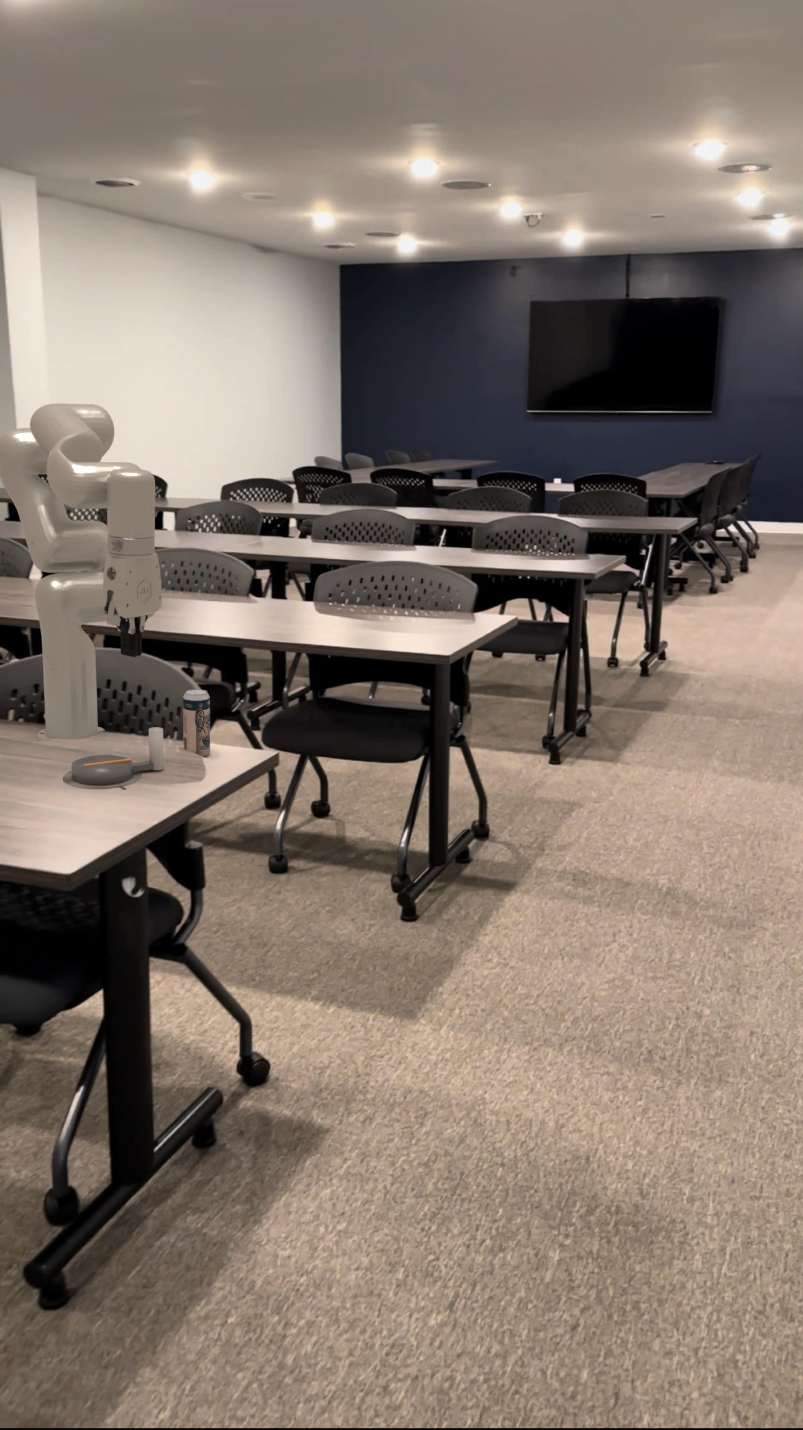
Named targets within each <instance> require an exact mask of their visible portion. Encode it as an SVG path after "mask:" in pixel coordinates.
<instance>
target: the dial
mask: <svg viewBox="0 0 803 1430" xmlns="http://www.w3.org/2000/svg"><path fill="white" fill-rule="evenodd" d="M164 767H165V766H164V728H163V727H161V726H160V727H158V726H153V727H150V728H148V760H145V761H144V760H143V761H137V762H133V760H132V759H131V758H127V757H124V756H121V755H112V754H110V755H109V754H101V755H99V754H98V755H91V756H85V757H81V758H78V759H75V760H74V761H73V762H71V768H70V769H71V771H72V778H73V779H74V780H75V781H78V782H81V783H86V784H112V783H118V782H122V781H125V780H127V779H129V778H131V777H132V775H133V772H135V771H139V772H140V771H141V772H143V771H149V770H152V771H162V770H164Z"/></svg>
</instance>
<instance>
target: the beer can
mask: <svg viewBox="0 0 803 1430" xmlns="http://www.w3.org/2000/svg"><path fill="white" fill-rule="evenodd" d="M182 708H183V710H182V712H183V713H182V715H183V719H182V720H183V724H182V725H183V729H182V731H183V733H182V734H183V735H182V736H183V749H184V750H185V751H187V752H191V753H194V754H195V755H198V756H200V757H202V758H205V757H207V756H208V755H210V753H211V698H210V695H209V693H208V691H207V690H206V689H205V690H204V689H195V688H194V689H188V690H186V691H185V693H184V695H183V697H182Z"/></svg>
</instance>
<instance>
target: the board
mask: <svg viewBox="0 0 803 1430" xmlns="http://www.w3.org/2000/svg"><path fill="white" fill-rule="evenodd" d="M143 774H150V771H141V772H140V771H135V772H133V775H132V777H131V778H129V779H127V780H125V781H122V782H118V783H112V784H86V783H81V782H78V781H75V780H74V779H73V778H72V770H70V771H68V772H66V773H65V774H64V775H63V776H62V781H63V783H64V784H66V785H68V786H70V787H73V788H77V789H85V790H109V789H112V790H113V789H119V788H120V789H121V790H123V791H125V790H127V788H126V787H127V786H130V785H133V784H136V783H138V782H139V781H140V780H142V776H143Z"/></svg>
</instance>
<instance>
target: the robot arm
mask: <svg viewBox="0 0 803 1430" xmlns="http://www.w3.org/2000/svg"><path fill="white" fill-rule="evenodd" d="M114 439H115V425H114V421H113V419H112V417H111V415H110V413H109V412H108V411H107V410H106V409H105V408H104V407H102V406H100V405H98V404H89V403H87V404H86V403H61V402H60V403H49V404H45V405H42V406H40V407H38V409H36V410H35V411H34V412H33V414H32V415H31V418H30V422H29V427H23V428H14V429H10V430H7V431H5V432H3V433H2V434H1V435H0V481H1V483H2V485H3V487H4V489H5V491H6V492H7V494H8V496H9V498H10V499H11V501H12V502H13V505H14V506H15V509H16V510H17V511H16V512H17V513H18V516H19V520H20V524H21V527H22V531H23V533H24V538H25V542H26V545H27V548H28V552H29V555H30V558H31V561H32V563H33V564H34V566H35V567H36V569H38V571H41V572H43V573H44V572H45V573H53V574H49V575H46V576H44V577H43V578H41V579H40V580H39V581H38V582H37V584H36V585H35V588H34V602H35V608H36V611H37V617H38V621H39V629H40V634H41V647H42V648H41V649H42V668H43V671H42V672H43V673H42V674H43V696H44V714H43V718H44V720H45V728H43V729H41V730H40V731H39V732H38V733H37V741H38V742H42V741H48V740H54V739H61V740H77V739H78V740H79V739H84V738H89V737H92V736H95V735H96V734H97V733H98V732H103V731H105V729H104V728H103V727H100V726H98V725H99V723H98V694H97V693H98V692H97V689H98V688H97V663H96V648H95V644H94V642H93V640H92V639H91V638H90V637H89V635H88V634H87V633H86V631H84V630H83V628H82V625H86V624H91V623H103V622H106V624H107V625H111V626H116V627H117V631H118V632H120V655H122V656H126V657H131V658H136V657H139V656H141V655H142V654H143V653H142V652H143V645H142V644H143V643H142V641H143V632H144V631H145V627H146V626H145V625H146V622H147V621H148V620H149V619H150V618H152V617H153V616H154V615H155V613H157V612H158V611H159V610H160V609H161V608H162V601H163V600H162V599H163V598H162V597H163V596H162V593H163V592H162V578H161V576H162V575H161V567H160V561H159V557H158V554H157V552H155V549H156V548H155V542H156V541H155V537H156V536H155V534H156V533H155V532H156V530H155V529H156V528H155V527H156V523H155V522H156V521H155V520H156V519H155V517H156V510H155V509H156V493H155V492H156V480H155V476H154V474H153V473H152V472H151V471H149V470H146V469H142V468H141V467H140V466H139V465H138V464H135V463H132V462H126V461H125V462H123V461H121V462H120V461H119V462H116V461H115V462H114V461H112V462H108V461H103V462H101V461H102V459H103V457H104V456H105V455H106V454H107V452H108V451H109V450H110V449H111V447H112V445H113V443H114ZM39 475H46V476H47V477H46V478H47V481H48V482H46V481H44V480H43V479H42V478H41V477H40V476H39ZM65 505H66V506H67V507H69V508H72V509H75V510H91V509H93V510H95V509H106V510H107V511H106V513H107V517H106V521H107V524H105V522H101V521H100V520H73V519H71V518H69V516H68V513H67V511H66V507H65Z"/></svg>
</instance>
